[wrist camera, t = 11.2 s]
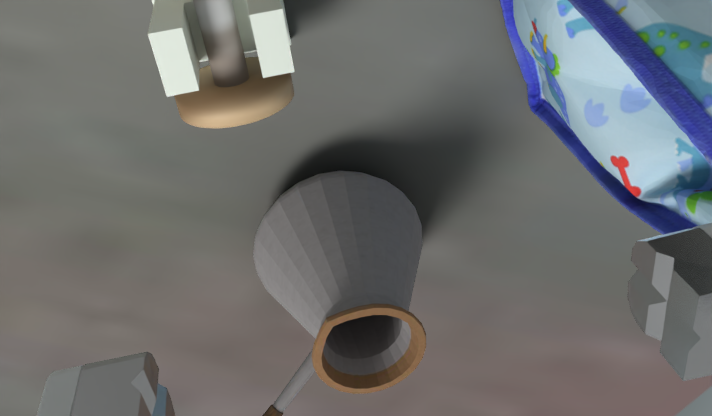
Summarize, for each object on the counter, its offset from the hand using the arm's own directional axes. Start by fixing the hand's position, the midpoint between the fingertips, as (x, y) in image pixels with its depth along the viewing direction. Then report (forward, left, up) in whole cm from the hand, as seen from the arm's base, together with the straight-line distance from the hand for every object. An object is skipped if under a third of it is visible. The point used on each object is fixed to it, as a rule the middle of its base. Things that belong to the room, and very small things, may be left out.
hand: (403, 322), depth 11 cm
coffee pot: (+22, -3, -31) cm, 38 cm away
